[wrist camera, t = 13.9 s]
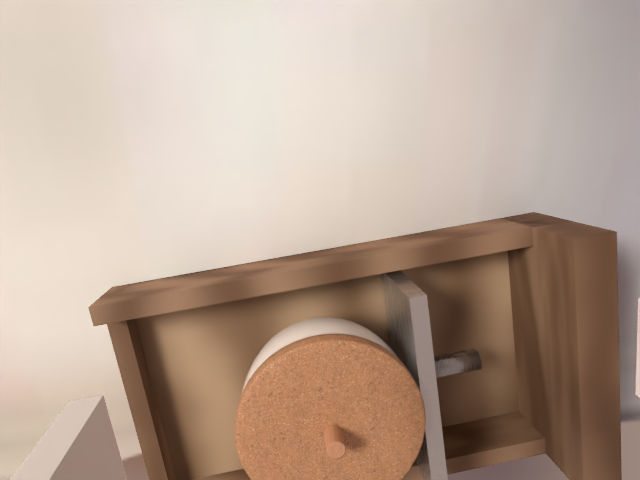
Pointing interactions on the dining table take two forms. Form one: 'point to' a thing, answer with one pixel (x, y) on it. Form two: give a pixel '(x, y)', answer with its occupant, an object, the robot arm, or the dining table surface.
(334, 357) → the lidded jar
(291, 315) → the wooden tray
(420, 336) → the pusher
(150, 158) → the dining table surface
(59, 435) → the robot arm
